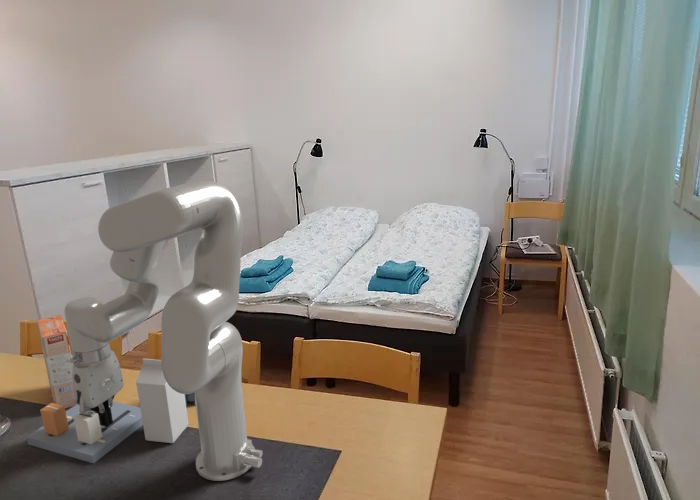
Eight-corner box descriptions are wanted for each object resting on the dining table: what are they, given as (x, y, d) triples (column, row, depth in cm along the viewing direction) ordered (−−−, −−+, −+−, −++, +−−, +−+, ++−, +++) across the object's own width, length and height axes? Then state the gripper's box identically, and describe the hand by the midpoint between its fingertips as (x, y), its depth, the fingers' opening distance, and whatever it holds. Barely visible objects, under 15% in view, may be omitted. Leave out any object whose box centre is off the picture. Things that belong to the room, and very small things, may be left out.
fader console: (152, 417, 128) (151, 409, 127) (93, 463, 111) (92, 455, 111) (91, 402, 135) (89, 395, 134) (27, 444, 118) (26, 436, 118)
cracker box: (82, 404, 134) (67, 330, 128) (55, 413, 131) (39, 337, 125) (74, 382, 145) (61, 313, 139) (50, 389, 142) (35, 319, 136)
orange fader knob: (69, 428, 120) (64, 405, 119) (57, 436, 118) (52, 412, 116) (56, 425, 122) (51, 402, 120) (45, 432, 119) (40, 409, 117)
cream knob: (102, 436, 117) (97, 412, 115) (91, 444, 114) (87, 420, 113) (89, 433, 118) (84, 409, 117) (78, 440, 116) (73, 417, 114)
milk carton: (173, 444, 117) (162, 368, 112) (145, 440, 118) (133, 366, 113) (188, 425, 124) (179, 353, 119) (162, 422, 125) (151, 351, 120)
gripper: (76, 371, 107) (91, 447, 112) (130, 340, 120) (141, 409, 125) (50, 365, 110) (66, 439, 115) (105, 336, 123) (117, 404, 128)
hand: (105, 423), depth 120 cm, fingers closed
